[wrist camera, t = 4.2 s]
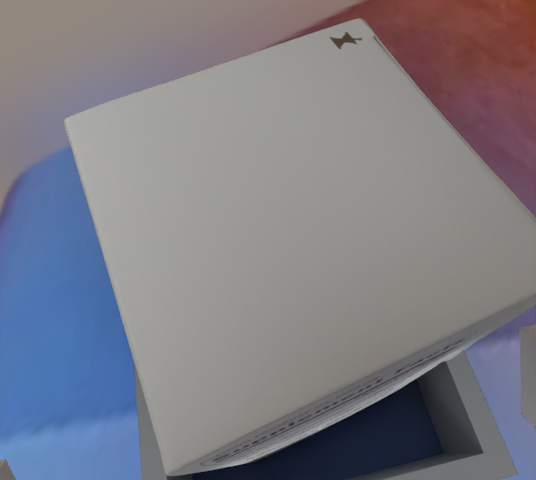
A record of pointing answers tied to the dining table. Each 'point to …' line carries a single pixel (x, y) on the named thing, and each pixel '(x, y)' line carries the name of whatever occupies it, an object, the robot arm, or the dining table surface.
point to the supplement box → (294, 242)
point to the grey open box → (443, 418)
